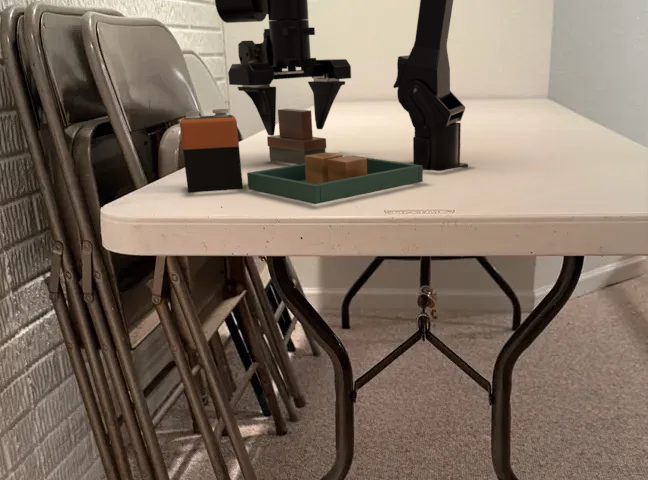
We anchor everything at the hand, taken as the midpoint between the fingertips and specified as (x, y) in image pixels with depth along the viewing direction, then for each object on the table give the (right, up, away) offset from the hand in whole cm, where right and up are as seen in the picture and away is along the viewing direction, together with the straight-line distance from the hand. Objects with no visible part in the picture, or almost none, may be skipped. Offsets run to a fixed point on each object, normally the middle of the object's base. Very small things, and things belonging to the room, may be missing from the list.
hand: (295, 132), depth 109 cm
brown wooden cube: (+5, -11, -16) cm, 20 cm away
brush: (0, -4, +2) cm, 5 cm away
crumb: (+9, -12, -19) cm, 24 cm away
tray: (+7, -12, -18) cm, 22 cm away
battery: (-8, -12, -17) cm, 22 cm away
